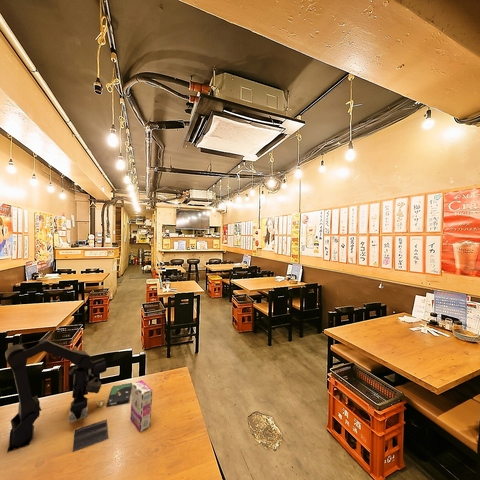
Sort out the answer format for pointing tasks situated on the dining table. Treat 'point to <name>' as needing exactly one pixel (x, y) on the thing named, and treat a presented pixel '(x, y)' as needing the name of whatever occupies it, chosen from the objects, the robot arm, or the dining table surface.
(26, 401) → the robot arm
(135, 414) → the candy bar box
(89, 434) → the stand
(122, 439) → the dining table surface
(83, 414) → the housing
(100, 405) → the brass bushing
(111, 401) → the disk drive
